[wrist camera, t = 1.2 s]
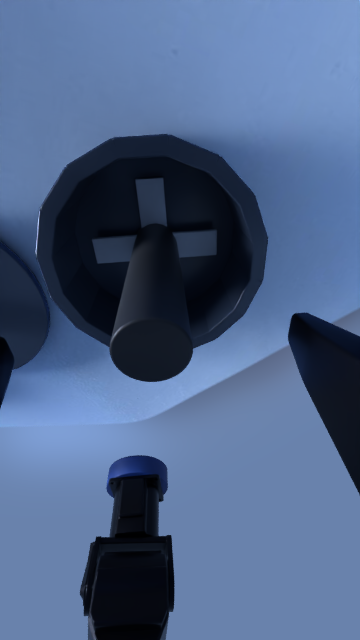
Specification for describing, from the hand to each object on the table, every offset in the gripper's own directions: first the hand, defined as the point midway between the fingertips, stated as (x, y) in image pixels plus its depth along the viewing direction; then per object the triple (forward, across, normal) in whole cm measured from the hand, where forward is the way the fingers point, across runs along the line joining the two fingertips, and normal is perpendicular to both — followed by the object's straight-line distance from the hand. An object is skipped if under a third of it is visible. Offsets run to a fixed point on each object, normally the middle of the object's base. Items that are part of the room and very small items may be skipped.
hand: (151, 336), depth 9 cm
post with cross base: (+9, 0, 0) cm, 9 cm away
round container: (+10, 0, 0) cm, 10 cm away
